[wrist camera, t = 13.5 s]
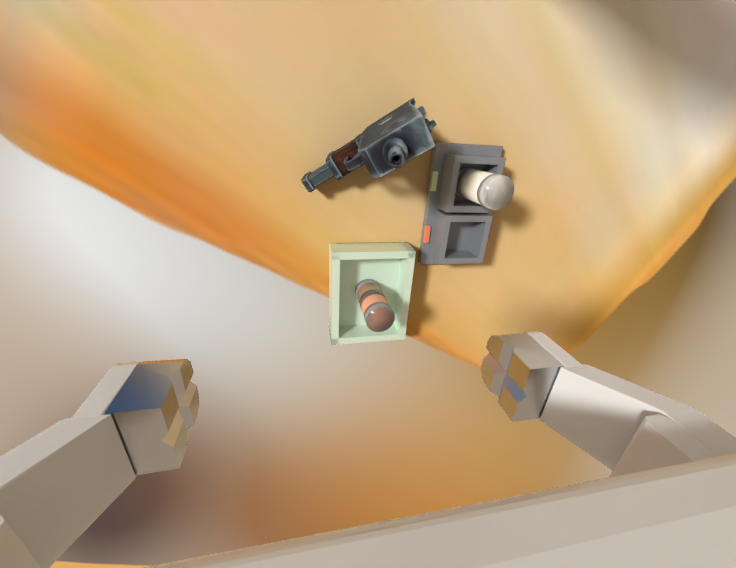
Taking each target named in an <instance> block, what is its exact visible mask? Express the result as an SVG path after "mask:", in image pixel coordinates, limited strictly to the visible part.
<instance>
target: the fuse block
mask: <svg viewBox="0 0 736 568" xmlns="http://www.w3.org/2000/svg"><path fill="white" fill-rule="evenodd" d="M434 144H435V146H434V147H433V154H432V162H431V170H430V177H429V185H428V192H427V200H426V208H425V215H424V223H423V230H422V238H421V246H420V253H419V261H418V262H419V263H420V264H466V263H483V258H484V254H485V249H486V245H487V241H488V236H489V232H490V227H491V223H492V218H493V216H492V215H490V214H488V213H494V210H491V209H488V208H486V207H484V206H482V205H480V204H478V203H475V202H473V201H471V200H468V199H466V198H462V197H460V196H458V195H456V194H455V193H456V187H457V181H458V175H459V169H461V168H463V167H470V168H474V169H476V170H481V171H485V172H489V173H494V174H500V175H502V174H503V169H504V165H505V161H506V158H503V157H501V154H502V149H503V146H491V145H473V144H455V143H436V142H434Z"/></svg>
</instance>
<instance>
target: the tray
mask: <svg viewBox="0 0 736 568" xmlns="http://www.w3.org/2000/svg"><path fill="white" fill-rule="evenodd" d="M415 255H416V250H415V249H414V248H413V247H412V246H411V245H410V244H409V243H408V242H393V243H329V332H330V338H331V344H332V345H336V344H348V343H362V342H373V341H374V342H375V341H388V340H400V339H405V335H406V327H407V319H408V311H409V303H410V295H411V287H412V279H413V271H414V263H415ZM364 279H373V280H375V281H377V282H378V284H379V286H380V287H381V290H382V292H383V294H384V296H385V297H386V299H387V302H388V303H389V305H390V307H391V308H392V310H393V312H394V315H395V320H394V323H393V325H392V326H391V327H390V328H389V329H387V330H385V331H382V332H374V331H372V330H370V329H369V328H368V327H367V325H366V322H365V319H364V315H363V313H362V310H361V308H360V304H359V301H358V300H357V297H356V294H355V288H356V286H357V284H358V283H359V282H360V281H362V280H364Z"/></svg>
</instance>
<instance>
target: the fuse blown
mask: <svg viewBox="0 0 736 568" xmlns="http://www.w3.org/2000/svg"><path fill="white" fill-rule="evenodd" d="M355 294H356V297H357V300H358V301H359V304H360V308H361V310H362V313H363V315H364V319H365V322H366V325H367V327H368V328H369V329H370V330H372V331H374V332H382V331H385V330H387V329H389V328H390V327H391V326H392V325H393V323H394V320H395V315H394V312H393V310H392V308H391V307H390V305H389V303H388V302H387V299H386V297H385V296H384V294H383V292H382V290H381V287H380V286H379V284H378V282H377V281H375V280H373V279H364V280H362V281H360V282H359V283H358V284H357V286H356V288H355Z"/></svg>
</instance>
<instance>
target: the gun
mask: <svg viewBox="0 0 736 568" xmlns="http://www.w3.org/2000/svg"><path fill="white" fill-rule="evenodd" d="M414 105H415V99H414V98H413V99H411V100H409V101H408V102H406V103H405V104H403V105H401V106H400V107H398V108H397V109H395V110H394V111H392V112H390V113H389V114H387V115H386V116H384V117H382V118H381V119H379V120H378V121H376V122H375V123H373V124H371V125H370V126H368V127H367V128H366V129H365V130H364V131H363V133H361V134H360V135H358V136H357V137H356V138H355V139H354V140H352V141H351V142H349V143H348V144H346V145H344V146H343V147H341V148H339V149H338V150H336V151H332V152H331V153H329V155H328V156H327V158H326V164H324V165H323V166H321V167H320V168H318V169H316V170H315V171H313V172H312V173H311V172H308V173H307V174H305V175H304V176H303V178H302V179H301V180H302V183H303V184H304V186H305V187H306V189H307V190H308V192H312V191H313V190H315V189H316V187H317V186H318V185H320V184H321V183H323V182H325V181H326V180H328V179H330V178H331V177H333V176H335V178H336V179H338V180H340V179H342V178H343V177H344V176H345V175H346V174H348V173H350V172H351V171H353V170H355V169H356V168H358V167H360V166H362V165H363V164H365V165H366V166H367V168H368V170H369V172H370V174H371V175H372V177H373V178H378V177H382V176H383V175H385V174H387V173H389V172H390V171H392V170H394V169H396V168H400V167H401V166H402V165H403V164H405V163H406V162H408V161H410V160H412V159H413V158H415V157H417V156H419V155H420V154H422V153H424V152H426V151H427V150H429V149H431V148H433V147H434V146H435V144H434V141H433V139H432V137H431V134H430V133H431V129H432V128H433V127H435V126H436V122H435V121H434V120H432V121H429V120H428V119H424V115H426V111H425V109H424V107H423V106H421V107H420V108H418V109H416V108H415V107H414Z"/></svg>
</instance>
